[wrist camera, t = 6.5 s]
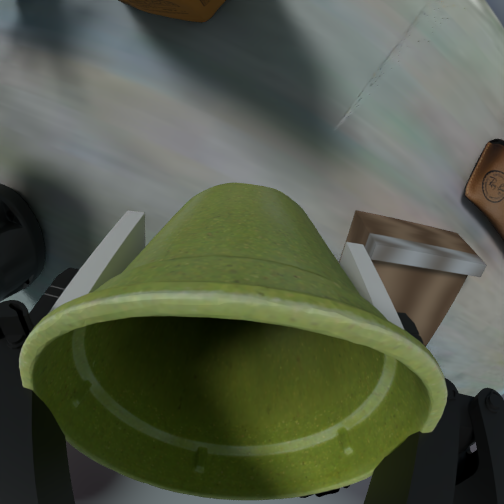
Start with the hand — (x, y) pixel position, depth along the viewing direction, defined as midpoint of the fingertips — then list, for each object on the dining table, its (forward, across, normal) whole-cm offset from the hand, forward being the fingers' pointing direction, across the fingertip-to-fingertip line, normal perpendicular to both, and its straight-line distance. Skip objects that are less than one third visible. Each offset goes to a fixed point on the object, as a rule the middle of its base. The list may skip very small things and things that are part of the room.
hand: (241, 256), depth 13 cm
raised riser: (+18, +18, -12) cm, 28 cm away
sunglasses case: (+18, +31, 0) cm, 36 cm away
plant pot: (+1, 0, 0) cm, 1 cm away
